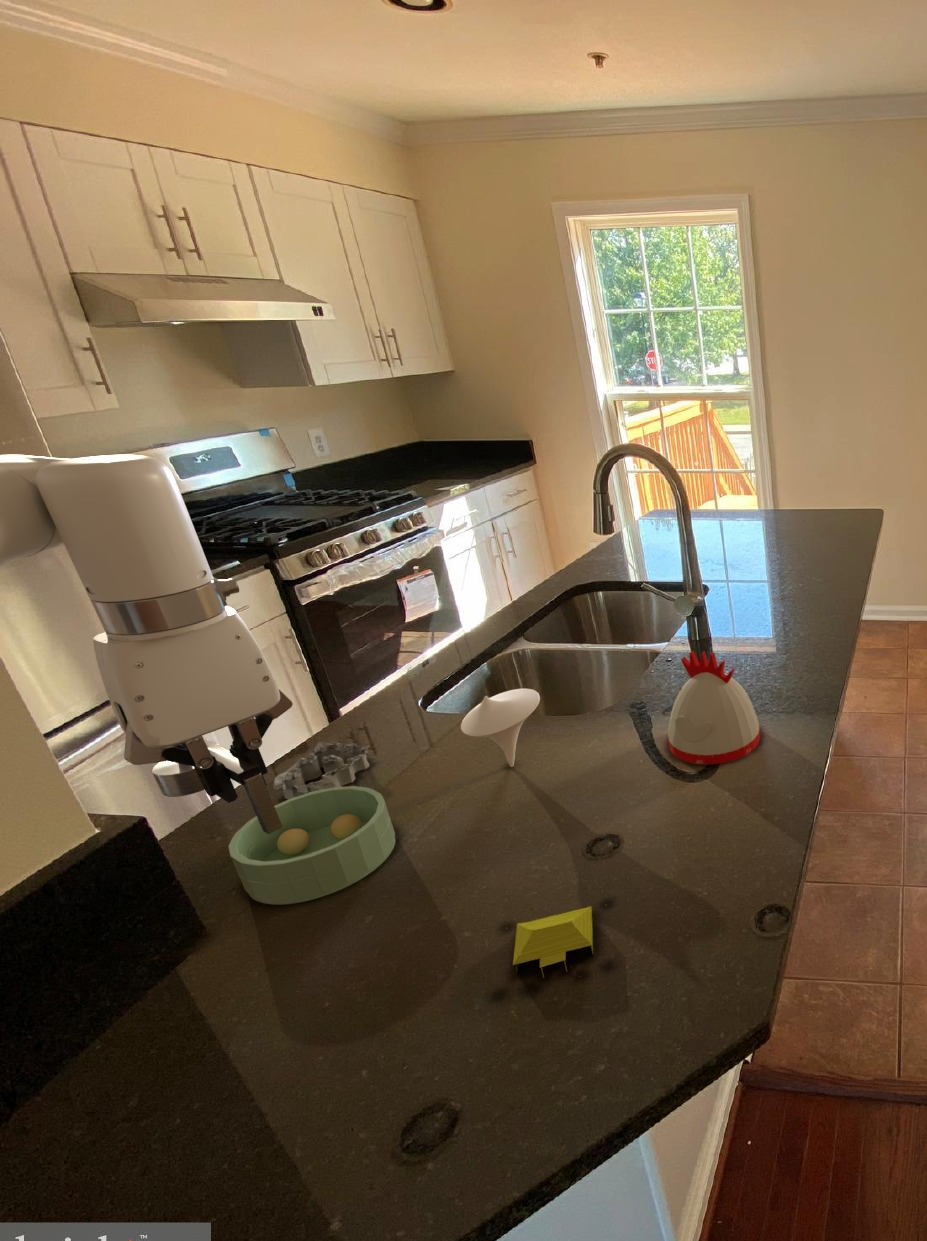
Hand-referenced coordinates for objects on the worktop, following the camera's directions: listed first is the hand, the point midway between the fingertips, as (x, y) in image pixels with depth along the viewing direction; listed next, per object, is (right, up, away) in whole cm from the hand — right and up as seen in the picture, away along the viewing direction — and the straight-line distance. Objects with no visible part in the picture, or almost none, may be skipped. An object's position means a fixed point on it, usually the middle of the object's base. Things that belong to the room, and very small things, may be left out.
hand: (240, 789), depth 65 cm
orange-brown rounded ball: (-9, -10, +17) cm, 21 cm away
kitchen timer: (+36, -1, +43) cm, 56 cm away
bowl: (-5, -12, +17) cm, 21 cm away
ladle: (-3, -2, +3) cm, 5 cm away
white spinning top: (+8, -4, +35) cm, 37 cm away
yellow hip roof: (+28, -17, +5) cm, 33 cm away
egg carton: (-16, -6, +31) cm, 36 cm away
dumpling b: (-4, -9, +19) cm, 21 cm away
